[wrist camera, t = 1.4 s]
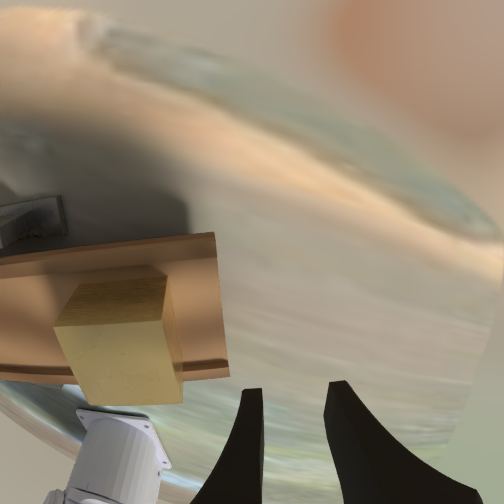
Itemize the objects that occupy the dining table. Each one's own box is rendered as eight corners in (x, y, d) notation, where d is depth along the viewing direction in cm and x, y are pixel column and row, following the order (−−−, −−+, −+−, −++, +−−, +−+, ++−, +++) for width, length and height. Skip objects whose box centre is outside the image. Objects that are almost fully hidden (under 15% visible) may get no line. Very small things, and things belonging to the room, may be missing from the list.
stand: (107, 364, 22) (91, 400, 18) (34, 356, 22) (14, 384, 18) (60, 195, 17) (24, 213, 13) (-16, 209, 17) (-50, 227, 13)
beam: (222, 330, 22) (232, 393, 17) (-51, 338, 18) (-80, 376, 13) (211, 214, 19) (217, 252, 13) (-83, 258, 15) (-121, 288, 10)
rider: (183, 352, 17) (182, 403, 14) (103, 357, 17) (89, 405, 13) (168, 275, 16) (161, 320, 12) (78, 284, 15) (52, 326, 11)
